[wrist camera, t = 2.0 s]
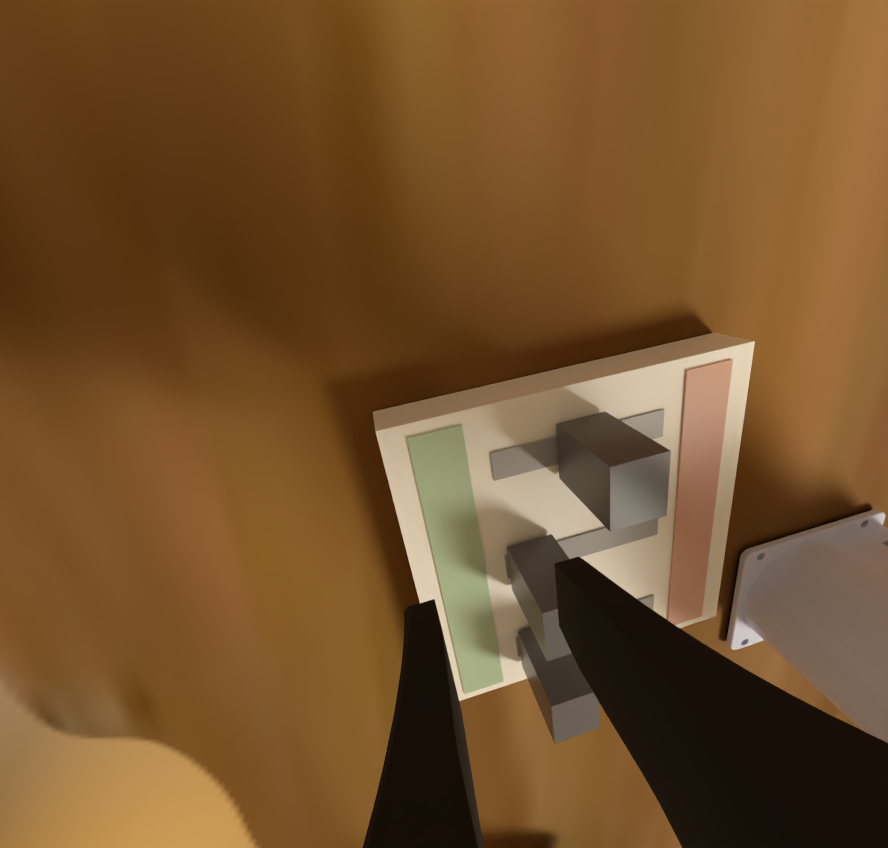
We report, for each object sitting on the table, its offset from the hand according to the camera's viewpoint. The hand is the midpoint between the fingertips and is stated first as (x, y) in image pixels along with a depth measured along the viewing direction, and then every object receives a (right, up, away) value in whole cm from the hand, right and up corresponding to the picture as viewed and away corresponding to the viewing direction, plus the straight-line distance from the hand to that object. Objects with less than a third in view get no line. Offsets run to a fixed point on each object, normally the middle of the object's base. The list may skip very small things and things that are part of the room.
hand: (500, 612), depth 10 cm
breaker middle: (+2, -1, +8) cm, 9 cm away
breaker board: (+4, 0, +10) cm, 11 cm away
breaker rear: (+3, -6, +10) cm, 12 cm away
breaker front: (+4, +4, +6) cm, 8 cm away
